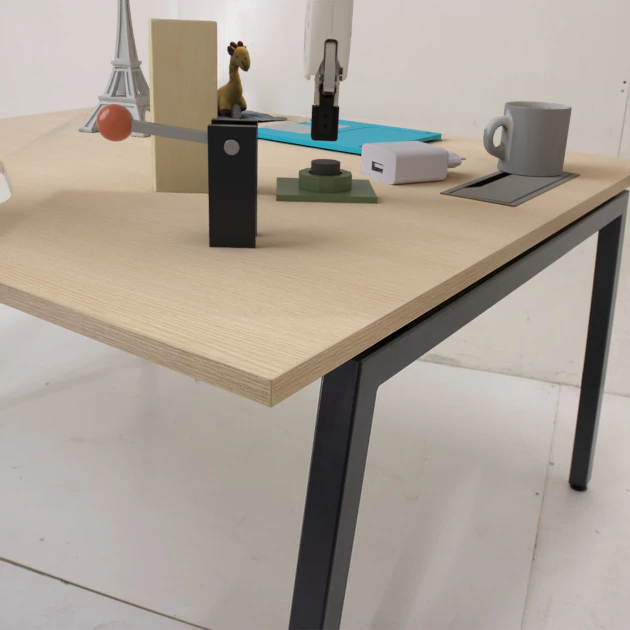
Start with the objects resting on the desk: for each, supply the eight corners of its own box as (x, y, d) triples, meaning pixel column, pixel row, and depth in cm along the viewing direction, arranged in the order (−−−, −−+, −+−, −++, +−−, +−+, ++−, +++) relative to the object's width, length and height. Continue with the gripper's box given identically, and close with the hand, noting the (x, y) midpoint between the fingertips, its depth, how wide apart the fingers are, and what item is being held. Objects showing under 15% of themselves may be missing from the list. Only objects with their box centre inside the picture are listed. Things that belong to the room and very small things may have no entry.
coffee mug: (548, 164, 130) (557, 101, 127) (572, 177, 121) (582, 109, 118) (469, 163, 129) (475, 99, 126) (486, 175, 120) (494, 107, 116)
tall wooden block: (211, 183, 109) (209, 19, 101) (219, 195, 102) (217, 21, 94) (151, 184, 107) (144, 17, 99) (156, 197, 100) (149, 19, 92)
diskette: (365, 155, 132) (366, 149, 131) (239, 135, 147) (239, 129, 147) (442, 138, 151) (442, 133, 151) (323, 122, 167) (324, 117, 166)
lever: (91, 141, 72) (93, 103, 71) (99, 135, 76) (101, 99, 74) (245, 165, 74) (250, 128, 73) (246, 158, 77) (251, 123, 76)
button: (311, 178, 96) (311, 163, 96) (310, 172, 100) (310, 158, 99) (340, 179, 97) (341, 164, 96) (338, 173, 100) (339, 159, 99)
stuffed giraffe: (226, 124, 159) (227, 39, 154) (177, 116, 171) (175, 38, 166) (287, 121, 169) (290, 42, 164) (236, 114, 182) (237, 40, 177)
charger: (479, 179, 117) (393, 186, 111) (442, 168, 125) (360, 173, 118) (483, 147, 116) (396, 152, 109) (445, 137, 123) (361, 141, 117)
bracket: (166, 267, 74) (161, 127, 69) (178, 240, 82) (174, 114, 78) (295, 269, 75) (298, 131, 70) (294, 242, 83) (297, 117, 78)
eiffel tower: (143, 137, 142) (135, -47, 131) (78, 131, 146) (65, -49, 135) (178, 127, 154) (173, -42, 143) (117, 122, 158) (108, -44, 147)
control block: (275, 212, 95) (276, 179, 93) (276, 193, 104) (276, 163, 102) (376, 215, 95) (378, 182, 94) (367, 196, 104) (369, 165, 103)
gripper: (297, -24, 97) (292, 129, 103) (300, -29, 83) (293, 149, 89) (359, -21, 97) (349, 132, 104) (372, -25, 83) (360, 151, 90)
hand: (323, 139), depth 97 cm, fingers closed
